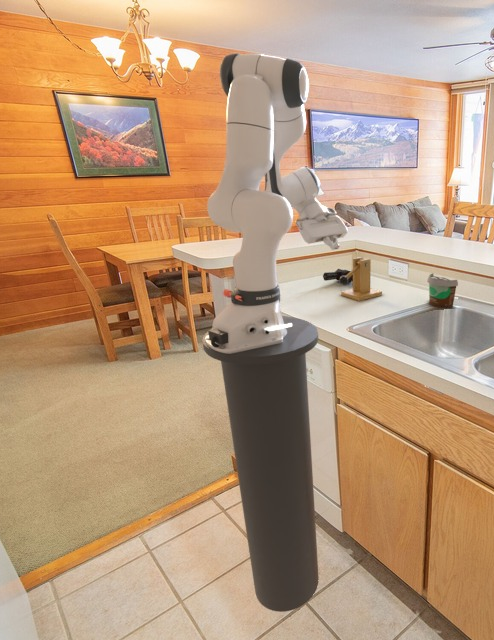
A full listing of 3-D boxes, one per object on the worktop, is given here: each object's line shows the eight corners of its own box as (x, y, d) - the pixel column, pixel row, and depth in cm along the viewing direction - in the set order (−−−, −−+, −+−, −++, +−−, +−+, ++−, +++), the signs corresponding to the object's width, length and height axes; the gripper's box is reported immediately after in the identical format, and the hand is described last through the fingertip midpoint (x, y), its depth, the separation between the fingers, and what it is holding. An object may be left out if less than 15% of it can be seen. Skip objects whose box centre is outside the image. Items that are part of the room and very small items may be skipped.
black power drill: (379, 272, 182) (354, 266, 191) (345, 275, 168) (319, 268, 177) (378, 285, 184) (353, 278, 193) (344, 289, 170) (319, 281, 179)
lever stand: (358, 301, 159) (358, 263, 153) (341, 295, 165) (340, 258, 159) (382, 294, 167) (382, 258, 161) (364, 289, 173) (364, 254, 167)
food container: (418, 302, 159) (420, 275, 155) (430, 299, 163) (432, 272, 159) (444, 311, 151) (446, 282, 147) (455, 307, 154) (458, 279, 150)
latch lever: (345, 287, 157) (341, 280, 155) (339, 285, 159) (336, 278, 157) (368, 265, 162) (365, 258, 159) (362, 264, 164) (359, 257, 161)
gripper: (297, 213, 146) (320, 246, 145) (337, 208, 161) (358, 239, 160) (289, 225, 150) (311, 258, 149) (328, 220, 165) (349, 249, 164)
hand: (336, 248), depth 155 cm, fingers closed
